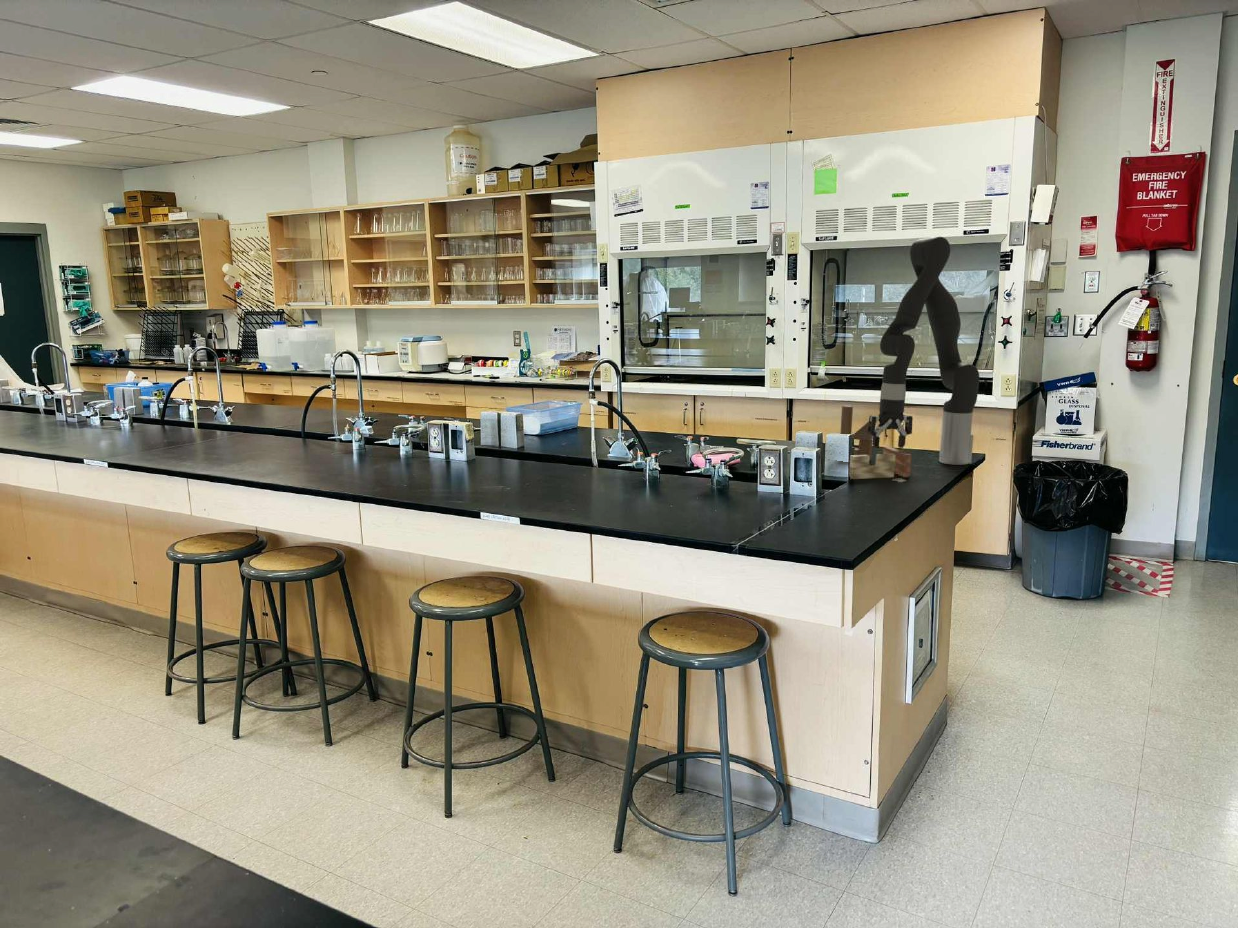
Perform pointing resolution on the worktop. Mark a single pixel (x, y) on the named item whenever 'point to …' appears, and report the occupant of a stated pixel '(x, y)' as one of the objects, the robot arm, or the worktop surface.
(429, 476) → the worktop surface
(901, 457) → the cherry plate
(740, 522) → the worktop surface
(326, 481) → the worktop surface
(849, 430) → the wooden block
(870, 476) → the maple plate
